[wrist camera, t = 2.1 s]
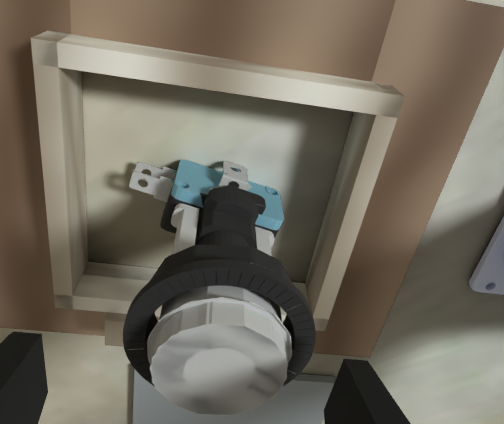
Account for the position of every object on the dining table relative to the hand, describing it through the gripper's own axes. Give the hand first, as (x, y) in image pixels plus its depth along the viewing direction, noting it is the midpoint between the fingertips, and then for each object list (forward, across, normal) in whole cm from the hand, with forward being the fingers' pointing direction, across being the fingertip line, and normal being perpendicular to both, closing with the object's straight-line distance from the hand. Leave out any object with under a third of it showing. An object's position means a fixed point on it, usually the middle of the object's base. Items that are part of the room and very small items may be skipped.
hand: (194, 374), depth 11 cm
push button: (+11, 0, 0) cm, 11 cm away
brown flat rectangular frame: (+10, 0, 0) cm, 10 cm away
